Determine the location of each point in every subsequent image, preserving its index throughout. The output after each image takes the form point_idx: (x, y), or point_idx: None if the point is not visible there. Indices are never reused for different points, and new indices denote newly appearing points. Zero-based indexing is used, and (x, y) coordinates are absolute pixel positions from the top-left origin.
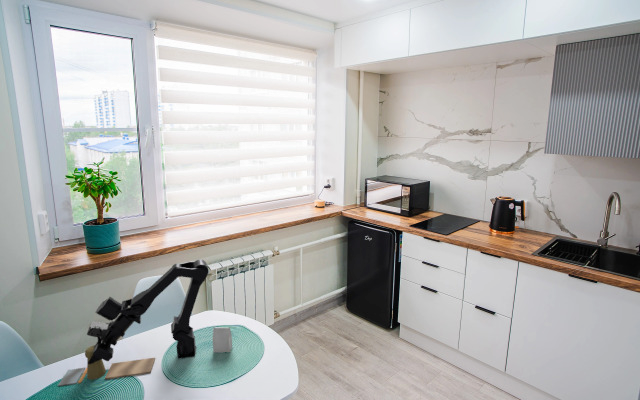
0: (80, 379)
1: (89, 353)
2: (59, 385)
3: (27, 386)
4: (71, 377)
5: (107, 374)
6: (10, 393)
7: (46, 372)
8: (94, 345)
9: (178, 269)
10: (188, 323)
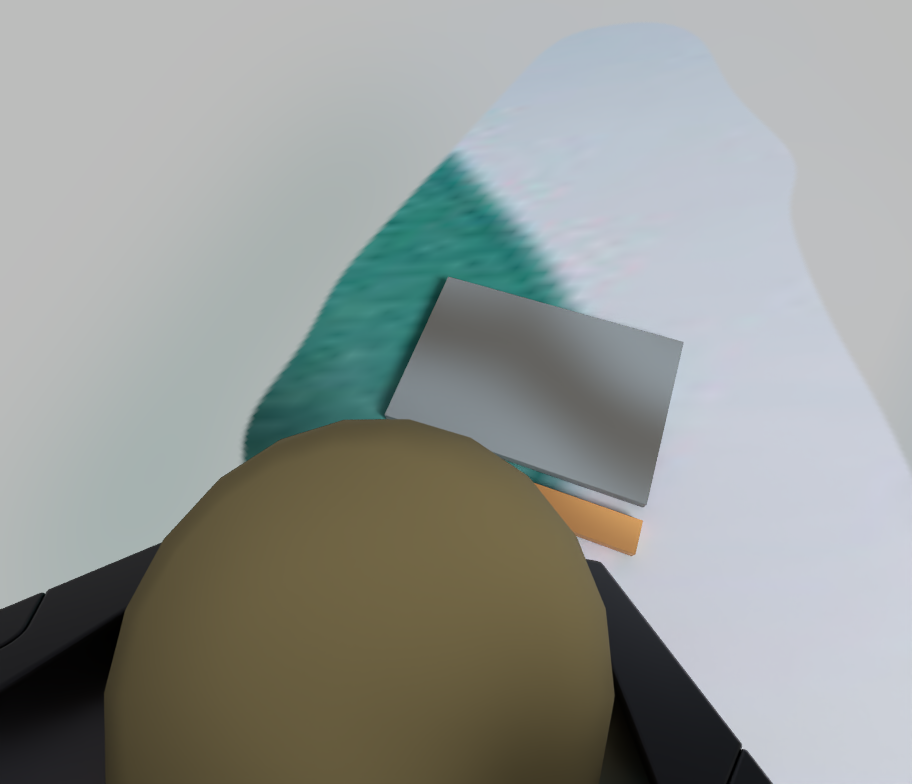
0: None
1: (179, 529)
2: (444, 290)
3: (586, 112)
4: (512, 374)
5: None
6: (555, 48)
7: (737, 196)
8: (551, 741)
9: None
10: None
